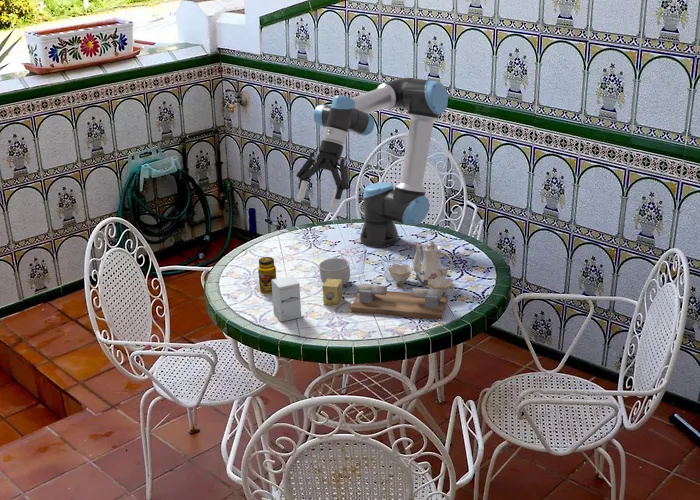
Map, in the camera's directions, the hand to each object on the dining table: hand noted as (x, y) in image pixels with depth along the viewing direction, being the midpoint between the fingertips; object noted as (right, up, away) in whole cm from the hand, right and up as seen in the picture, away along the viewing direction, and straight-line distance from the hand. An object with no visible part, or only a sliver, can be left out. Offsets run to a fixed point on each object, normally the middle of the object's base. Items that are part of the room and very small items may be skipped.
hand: (316, 204), depth 280 cm
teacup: (+6, -27, +21) cm, 34 cm away
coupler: (+5, -33, +6) cm, 34 cm away
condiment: (-18, -29, +17) cm, 38 cm away
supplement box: (-9, -37, -2) cm, 38 cm away
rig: (+28, -34, +1) cm, 44 cm away
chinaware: (+38, -28, +16) cm, 50 cm away
